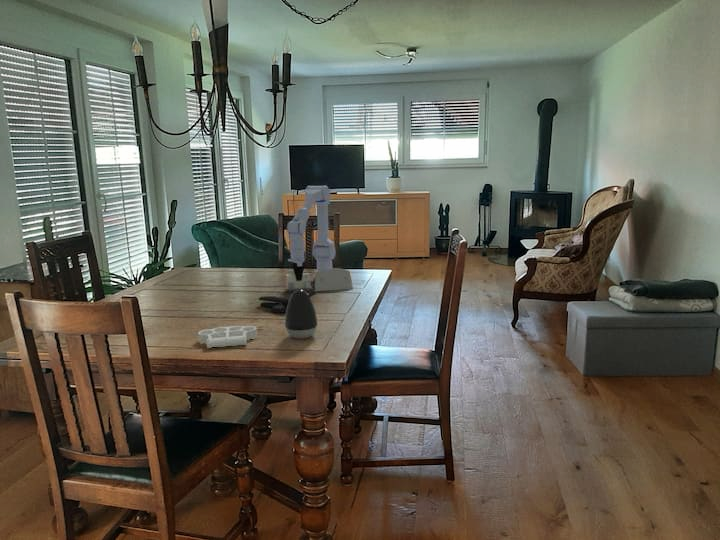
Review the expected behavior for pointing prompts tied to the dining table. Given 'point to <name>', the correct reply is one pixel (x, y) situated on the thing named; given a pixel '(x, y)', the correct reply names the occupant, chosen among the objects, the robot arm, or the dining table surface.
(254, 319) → the dining table surface
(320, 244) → the robot arm
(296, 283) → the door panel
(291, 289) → the clip bracket
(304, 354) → the dining table surface
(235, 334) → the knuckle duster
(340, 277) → the grey curved block
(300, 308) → the dark grey tapered dome
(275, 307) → the can opener
